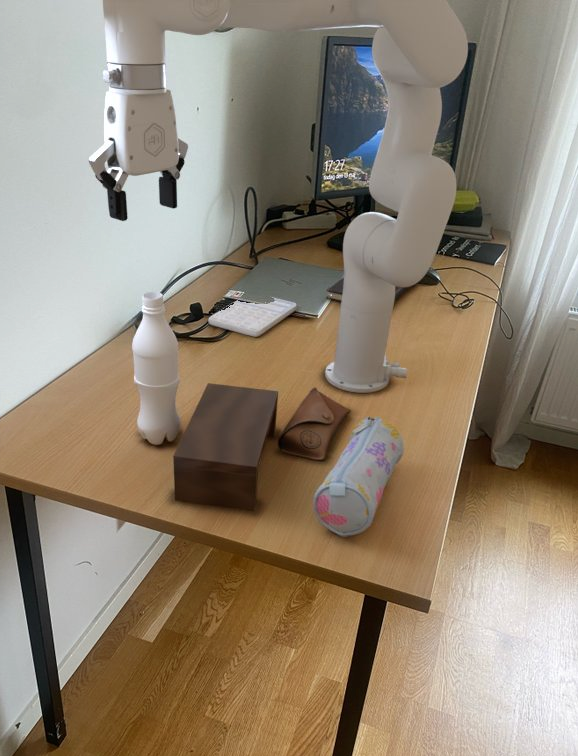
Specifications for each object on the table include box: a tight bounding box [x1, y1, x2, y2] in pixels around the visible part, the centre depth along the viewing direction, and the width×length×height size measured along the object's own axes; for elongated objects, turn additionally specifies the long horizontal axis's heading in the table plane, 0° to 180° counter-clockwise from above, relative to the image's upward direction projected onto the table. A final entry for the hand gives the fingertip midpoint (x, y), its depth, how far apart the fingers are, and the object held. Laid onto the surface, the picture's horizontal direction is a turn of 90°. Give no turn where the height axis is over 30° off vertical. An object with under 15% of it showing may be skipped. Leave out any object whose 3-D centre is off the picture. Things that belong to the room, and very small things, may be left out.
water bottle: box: [131, 291, 182, 446], centre depth 105 cm, size 7×7×25 cm
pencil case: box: [312, 416, 405, 538], centre depth 97 cm, size 21×9×10 cm, turn 156°
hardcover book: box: [325, 276, 414, 304], centre depth 170 cm, size 16×23×2 cm
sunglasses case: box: [277, 387, 352, 461], centre depth 114 cm, size 18×7×7 cm
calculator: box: [207, 296, 297, 338], centre depth 155 cm, size 13×20×2 cm, turn 149°
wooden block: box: [172, 382, 279, 512], centre depth 104 cm, size 12×22×8 cm, turn 170°
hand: (144, 212), depth 97 cm, fingers open, 9 cm apart
